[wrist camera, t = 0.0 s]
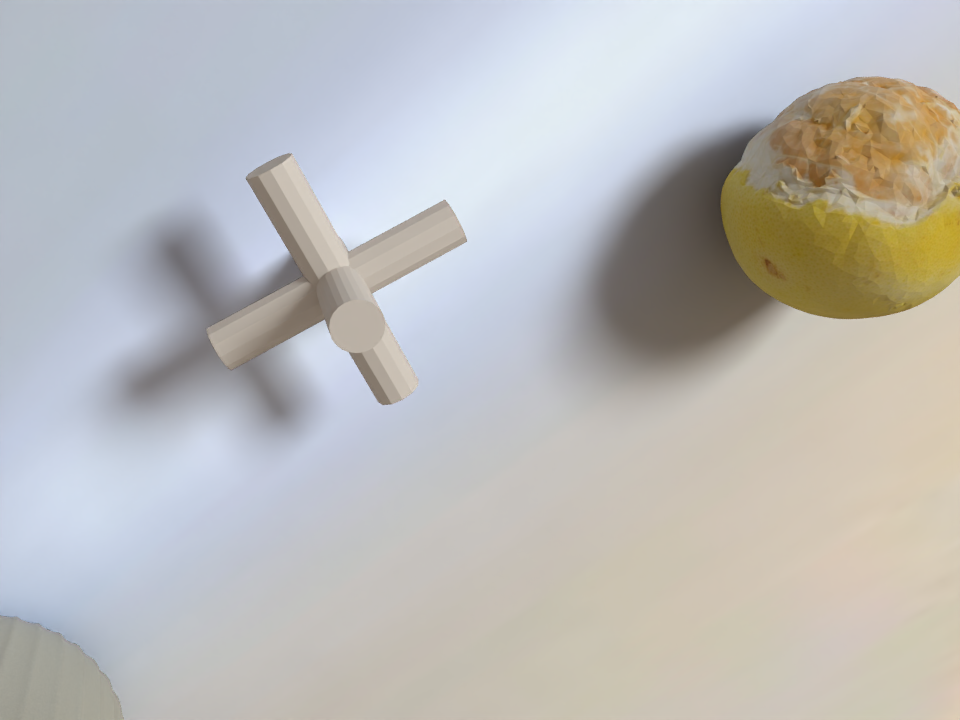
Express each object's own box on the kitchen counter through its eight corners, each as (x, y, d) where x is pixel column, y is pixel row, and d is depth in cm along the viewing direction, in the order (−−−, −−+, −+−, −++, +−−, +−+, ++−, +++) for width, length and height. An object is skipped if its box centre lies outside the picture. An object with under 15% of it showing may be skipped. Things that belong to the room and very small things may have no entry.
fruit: (905, 203, 44) (1079, 250, 35) (731, 323, 44) (862, 401, 35) (841, 18, 40) (1022, 17, 31) (647, 150, 39) (773, 189, 31)
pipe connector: (280, 401, 39) (297, 515, 30) (151, 205, 35) (127, 270, 26) (475, 293, 40) (549, 374, 31) (373, 88, 35) (425, 111, 26)
